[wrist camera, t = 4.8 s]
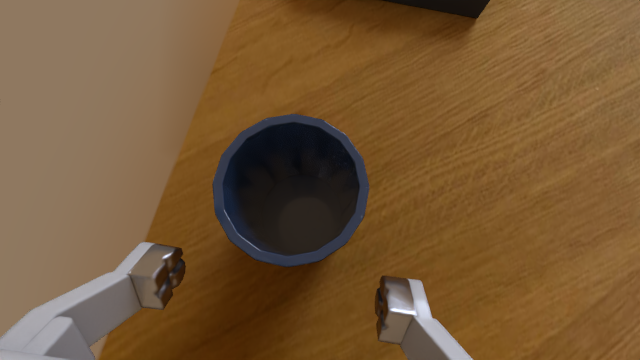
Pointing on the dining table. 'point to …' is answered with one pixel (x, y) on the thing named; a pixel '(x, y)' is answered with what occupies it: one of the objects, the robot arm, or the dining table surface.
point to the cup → (290, 190)
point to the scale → (449, 6)
